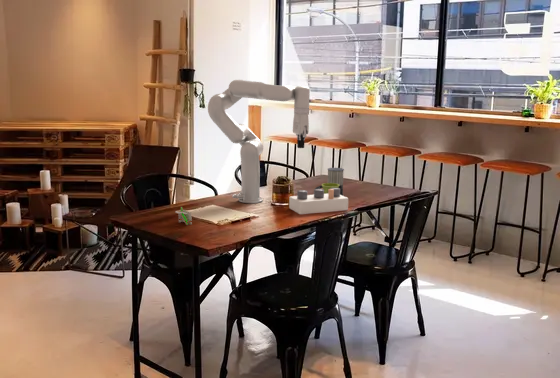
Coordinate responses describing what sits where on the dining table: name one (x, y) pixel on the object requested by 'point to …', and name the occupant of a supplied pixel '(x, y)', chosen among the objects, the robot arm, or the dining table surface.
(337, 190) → the knob far
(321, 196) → the knob mid
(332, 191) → the dial post
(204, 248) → the dining table surface
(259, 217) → the dining table surface
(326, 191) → the plant pot
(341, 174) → the milk frother
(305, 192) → the knob near
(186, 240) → the dining table surface
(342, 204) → the white rectangular block
